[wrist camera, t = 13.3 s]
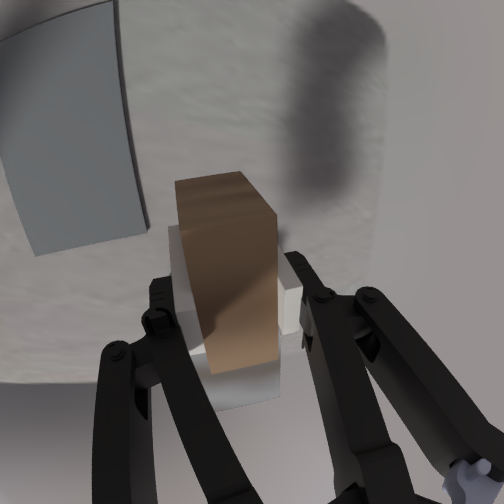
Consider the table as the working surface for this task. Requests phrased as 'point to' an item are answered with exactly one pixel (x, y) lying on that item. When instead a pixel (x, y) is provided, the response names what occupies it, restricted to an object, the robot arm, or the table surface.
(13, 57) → the mat
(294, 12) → the table surface
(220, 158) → the table surface
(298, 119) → the table surface
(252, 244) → the wood block metal plate
